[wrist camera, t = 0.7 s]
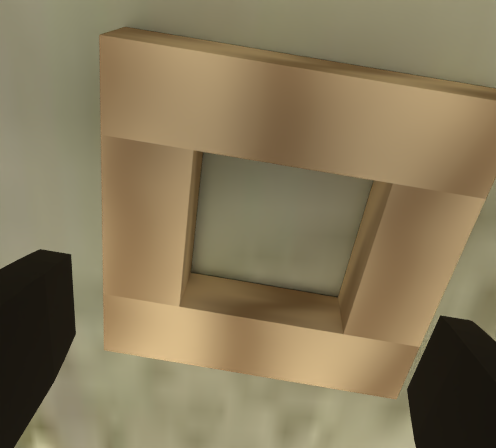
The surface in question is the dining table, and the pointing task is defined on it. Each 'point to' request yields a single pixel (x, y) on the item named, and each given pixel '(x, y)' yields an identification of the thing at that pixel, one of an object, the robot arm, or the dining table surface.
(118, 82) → the square wooden frame
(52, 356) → the robot arm
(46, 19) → the dining table surface
